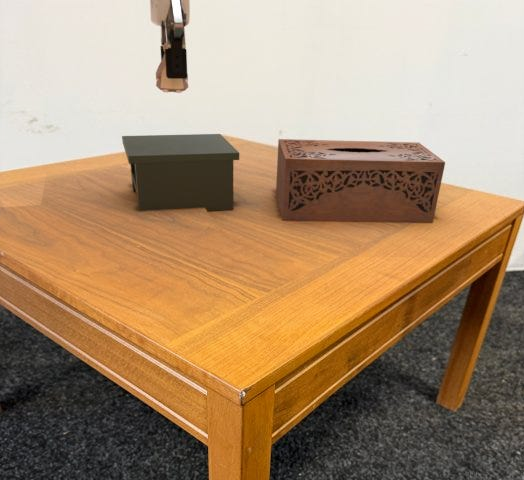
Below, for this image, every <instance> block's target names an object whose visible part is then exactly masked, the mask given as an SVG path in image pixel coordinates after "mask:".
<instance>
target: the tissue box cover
mask: <svg viewBox="0 0 524 480" xmlns="http://www.w3.org/2000/svg"><path fill="white" fill-rule="evenodd" d="M276 163H277V164H276V182H275V183H276V184H275V196H276V200H277V205H278V208H279V213H280V217H281V221H292V222H293V221H295V222H296V221H300V222H301V221H302V222H303V221H304V222H314V221H315V222H363V223H366V222H369V223H371V222H372V223H427V224H429V223H431V224H432V223H434V219H435V213H436V209H437V205H438V199H439V194H440V190H441V185H442V180H443V176H444V171H445V166H446V162H445V160H443V159H441V158H440V157H439V156H438V155H436V154H435V153H434V152H432V151H431V150H430V149H429V148H427V147H426V146H425V145H423V144H422V143H420V142H416V141H415V142H413V141H411V142H410V141H375V140H373V141H372V140H368V141H367V140H333V139H332V140H331V139H295V138H294V139H290V138H287V139H285V138H278V141H277V161H276Z"/></svg>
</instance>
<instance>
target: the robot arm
mask: <svg viewBox="0 0 524 480" xmlns="http://www.w3.org/2000/svg"><path fill="white" fill-rule="evenodd" d="M149 3H150V5H149V6H150V7H149V8H150V22H151V23H152V24H153V25H154V26H158V27H160V44H161V45H160V46H159V47H160V62H161V61H162V59H163V56H164V54H165V61H166V76H167V78H169V79H185V78H187V74H188V58H187V57H188V55H187V54H188V53H187V48H186V46H187V45H186V33H185V32H186V31H185V27H187V26H188V25H189V23H190V17H191V16H190V11H191V10H190V9H191V8H190V6H191V5H190V3H191V2H190V0H149ZM165 43H166V44H167V49H165V52H164V50H163V45H164V44H165Z"/></svg>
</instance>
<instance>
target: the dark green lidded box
mask: <svg viewBox="0 0 524 480" xmlns="http://www.w3.org/2000/svg"><path fill="white" fill-rule="evenodd" d="M121 140H122V145H123V148H124V152H125V155H126V159H127V162H128V164H129V167H130V175H131V176H130V177H131V186H132V192H135V193H136V197H137V205H138V210H139V212H144V211H161V210H162V211H164V210H180V209H182V210H183V209H200V208H201V209H202V208H204V209H205V210H206V212H217V211H218V212H219V211H233V210H234V161H239V160H240V152H239V150H237V148H235V147H234V146H233V145H232V143H230V142H229V140H227V139H226V138H225V137H224V136H223V135H222V134H221V133H197V134H196V133H194V134H152V135H148V134H147V135H122V136H121Z"/></svg>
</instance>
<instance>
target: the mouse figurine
mask: <svg viewBox="0 0 524 480" xmlns="http://www.w3.org/2000/svg"><path fill="white" fill-rule="evenodd" d="M165 49H167V44H166V43H165V44H164V45H163V50H164V52H165ZM155 80H156V84H155V86H156V87H157V88H158V89H159V90H160V91H162V93H177V94H181V93H182V92H184V91H187V89H188V88H189V83H188V81H189V74H188V73H187V78H185V79H169V78H167V76H166V61H165V54H164V56H163V59H162V61H161V60H160V63H159V65H158V66H157V69H156V71H155Z"/></svg>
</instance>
